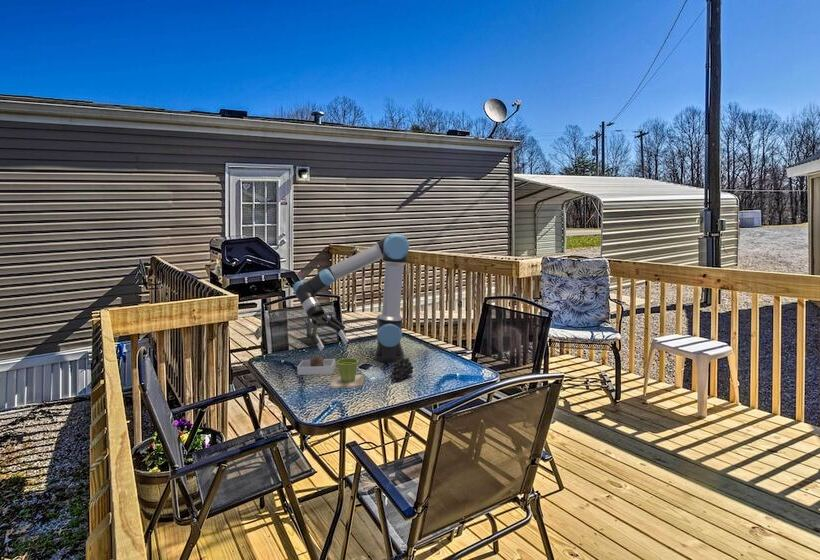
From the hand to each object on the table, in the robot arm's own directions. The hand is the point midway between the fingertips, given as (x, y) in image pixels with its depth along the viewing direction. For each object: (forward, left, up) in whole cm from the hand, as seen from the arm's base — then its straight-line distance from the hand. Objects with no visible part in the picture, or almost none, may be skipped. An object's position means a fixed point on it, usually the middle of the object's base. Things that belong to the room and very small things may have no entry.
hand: (334, 345), depth 220 cm
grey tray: (+10, -11, -15) cm, 21 cm away
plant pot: (-6, +5, -15) cm, 17 cm away
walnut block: (+10, -11, -14) cm, 21 cm away
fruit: (-29, +2, -16) cm, 33 cm away
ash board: (-6, +5, -15) cm, 17 cm away
